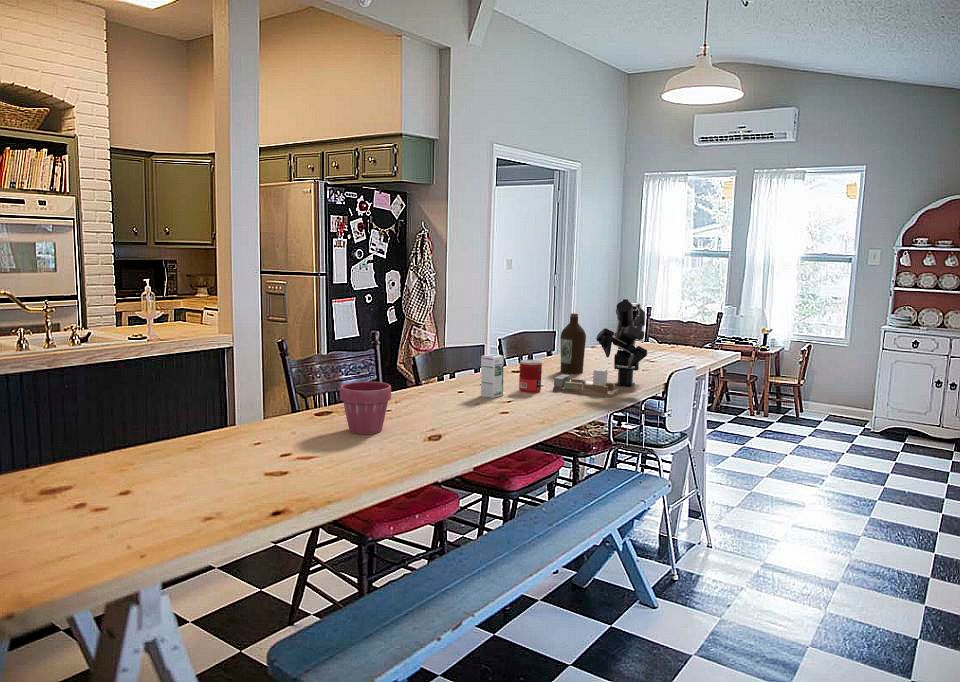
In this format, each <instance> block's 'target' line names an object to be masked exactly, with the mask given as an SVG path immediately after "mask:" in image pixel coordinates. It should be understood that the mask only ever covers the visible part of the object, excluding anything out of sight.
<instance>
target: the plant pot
mask: <svg viewBox="0 0 960 682" xmlns="http://www.w3.org/2000/svg"><path fill="white" fill-rule="evenodd" d="M339 399H340V401H342V402H343V408H344V412H345V417H346V421H347V422H346V423H347V425H348V430H349V432H350V433H352V434H358V435H371V434H372V435H374V434H377V433H380V432H382V430H383V427H384V422H385V419H386V418H385V417H386V413H387V409H388V408H387V407H388V403H389V401H390V400H392V386H391V384H389V383H386V382H383V381H382V382H381V381H354V382H347V383H344V384H342V385H340V387H339Z"/></svg>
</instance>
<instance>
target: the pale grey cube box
mask: <svg viewBox="0 0 960 682" xmlns="http://www.w3.org/2000/svg"><path fill="white" fill-rule="evenodd" d="M592 377H593V378H592V381H582V382H581V383H583V384H592V385H601V386H606V383H607V382H608V369H604V368H603V369H602V368H596V369H594V370H593V376H592Z"/></svg>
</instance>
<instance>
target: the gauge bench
mask: <svg viewBox="0 0 960 682" xmlns="http://www.w3.org/2000/svg"><path fill="white" fill-rule="evenodd" d="M570 379H571V380H570ZM582 381H593V379H592V380H590V379H580V378H573V377H572V378H571V374H564V373H562V374H560V375H558V376H555V377H554V379H553V387H552V388H553V389H552V391H553V390H555V391H554V392H562V391H563V392H564V393H570V392H572V393H571V394H578V393H580V394H581V395H587V394H588V395H589V396H595V395H597V396H596V397H603V396H606V397H605V398H614V396H616V395H618V394H619V393H620V389H618V388H616V389H615V382H608V381H607V383H606V386H601V385H592V384H583V383H581V382H582ZM563 392H562V393H563ZM617 393H618V394H617ZM588 395H587V396H588Z"/></svg>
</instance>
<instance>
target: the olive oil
mask: <svg viewBox="0 0 960 682" xmlns="http://www.w3.org/2000/svg"><path fill="white" fill-rule="evenodd" d="M559 338H560V373H562V372H563V373H562V374H566V373H568V374H567V375H581V374H583V372H584V361H585V352H586V351H585V350H586V341H587V336H586V332H585V329H584V328H583V327H582V326H581V325H580V324H579V314H578V313H575V312H574V313H573V312H572V313H570V317H569V323H568V324H567V325H566V326H565V327H564V328H563V329H562V331H561V333H560V337H559ZM580 373H581V374H580Z"/></svg>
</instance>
